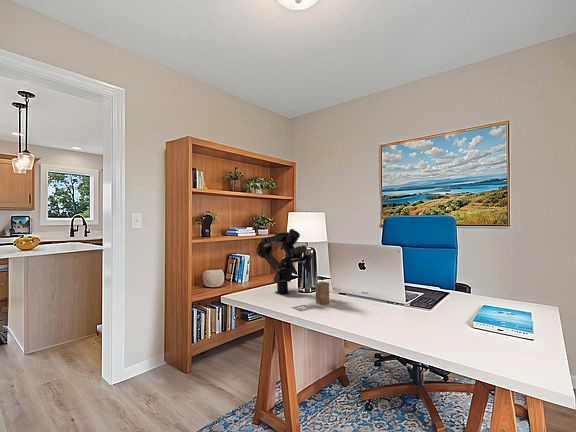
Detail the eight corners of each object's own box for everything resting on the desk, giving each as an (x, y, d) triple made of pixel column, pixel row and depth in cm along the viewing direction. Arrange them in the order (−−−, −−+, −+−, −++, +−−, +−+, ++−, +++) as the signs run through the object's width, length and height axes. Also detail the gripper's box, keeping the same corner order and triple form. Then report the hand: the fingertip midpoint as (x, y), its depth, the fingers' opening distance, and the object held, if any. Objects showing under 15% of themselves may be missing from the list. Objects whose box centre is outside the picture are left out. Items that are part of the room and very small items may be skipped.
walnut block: (315, 303, 152) (315, 282, 152) (322, 301, 155) (322, 281, 155) (322, 305, 148) (322, 284, 148) (329, 303, 151) (329, 282, 151)
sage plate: (308, 303, 153) (308, 302, 153) (324, 300, 158) (324, 299, 158) (321, 308, 144) (321, 307, 144) (337, 305, 150) (337, 304, 150)
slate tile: (290, 308, 146) (290, 307, 146) (304, 305, 150) (304, 304, 150) (300, 312, 139) (300, 311, 139) (314, 309, 144) (314, 308, 144)
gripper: (282, 241, 159) (296, 265, 151) (309, 239, 171) (324, 261, 162) (273, 255, 166) (287, 279, 157) (300, 252, 177) (314, 274, 168)
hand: (303, 273), depth 161 cm, fingers open, 9 cm apart
